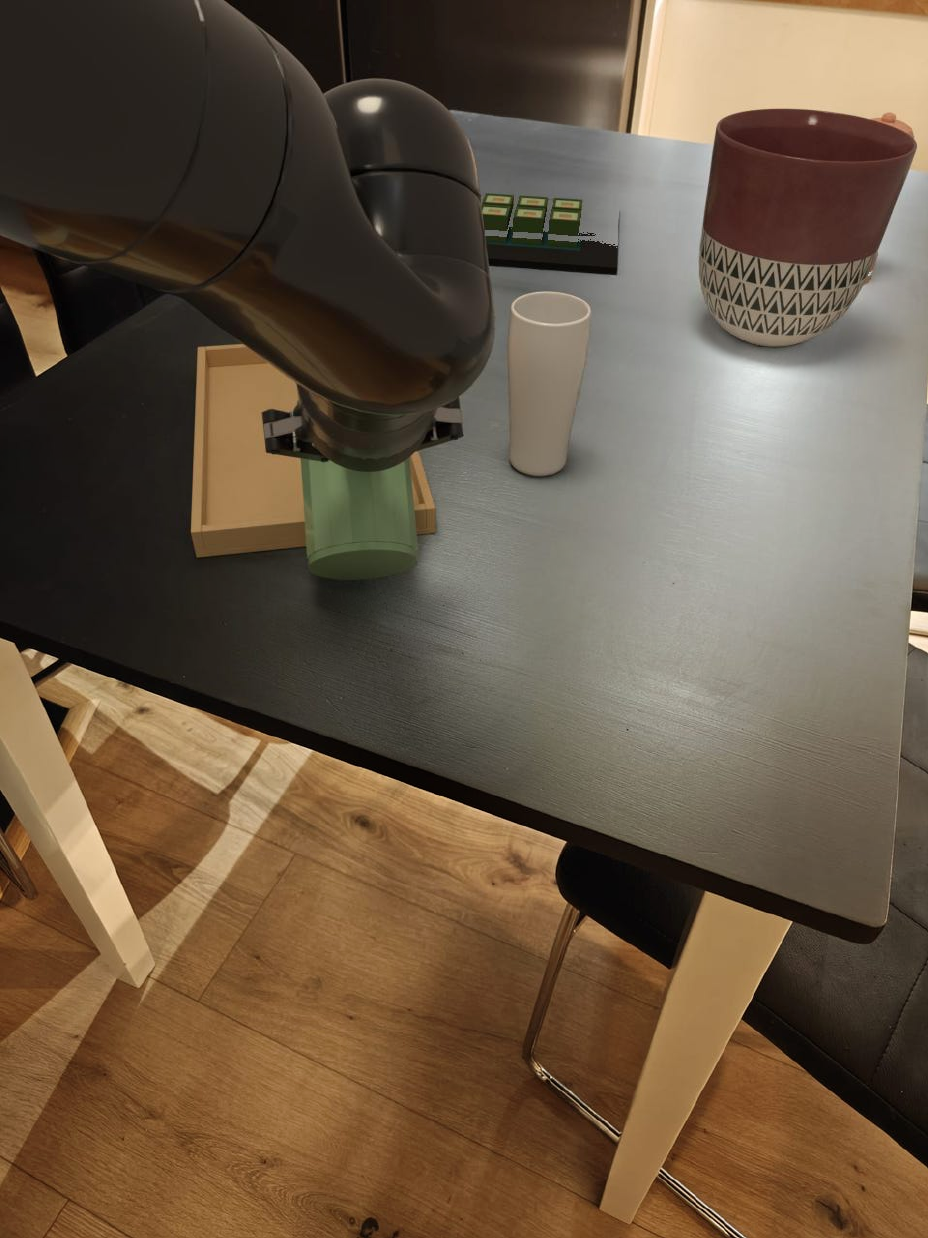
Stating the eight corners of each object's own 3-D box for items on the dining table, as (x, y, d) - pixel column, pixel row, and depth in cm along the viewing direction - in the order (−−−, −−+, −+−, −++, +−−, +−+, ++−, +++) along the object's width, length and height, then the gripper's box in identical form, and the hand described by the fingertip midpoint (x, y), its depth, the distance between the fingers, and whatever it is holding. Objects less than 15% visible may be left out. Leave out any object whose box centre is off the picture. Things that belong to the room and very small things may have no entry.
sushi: (619, 210, 136) (622, 184, 133) (616, 274, 118) (620, 245, 115) (454, 199, 138) (455, 173, 136) (427, 260, 120) (427, 231, 117)
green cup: (306, 553, 63) (294, 380, 65) (309, 582, 71) (299, 428, 73) (423, 546, 64) (407, 377, 67) (413, 576, 72) (399, 424, 75)
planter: (821, 392, 95) (890, 175, 81) (651, 344, 103) (687, 137, 88) (869, 326, 108) (936, 128, 93) (714, 288, 115) (754, 98, 101)
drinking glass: (586, 475, 83) (607, 318, 73) (519, 489, 81) (530, 330, 71) (554, 438, 87) (569, 285, 77) (489, 451, 85) (496, 296, 75)
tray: (196, 558, 73) (190, 532, 71) (202, 369, 96) (197, 346, 95) (435, 533, 76) (435, 507, 74) (384, 356, 99) (383, 333, 98)
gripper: (249, 468, 47) (272, 513, 64) (499, 447, 49) (456, 497, 66) (233, 324, 47) (261, 408, 64) (484, 309, 49) (445, 394, 66)
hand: (360, 453), depth 65 cm, fingers closed
